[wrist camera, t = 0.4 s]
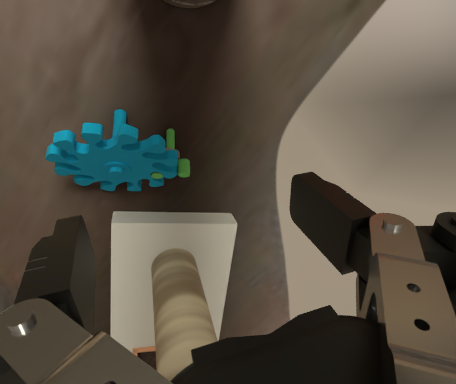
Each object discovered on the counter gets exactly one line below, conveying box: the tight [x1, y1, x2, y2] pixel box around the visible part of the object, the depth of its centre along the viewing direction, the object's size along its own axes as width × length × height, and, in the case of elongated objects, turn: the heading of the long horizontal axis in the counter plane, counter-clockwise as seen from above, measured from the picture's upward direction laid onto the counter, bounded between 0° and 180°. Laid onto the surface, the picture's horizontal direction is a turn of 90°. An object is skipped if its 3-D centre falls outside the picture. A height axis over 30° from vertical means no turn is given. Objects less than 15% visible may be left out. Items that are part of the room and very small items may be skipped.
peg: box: [151, 248, 218, 381], centre depth 26 cm, size 4×4×14 cm
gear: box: [45, 109, 190, 191], centre depth 27 cm, size 11×6×10 cm
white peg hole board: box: [111, 211, 237, 356], centre depth 36 cm, size 26×12×3 cm, turn 172°
